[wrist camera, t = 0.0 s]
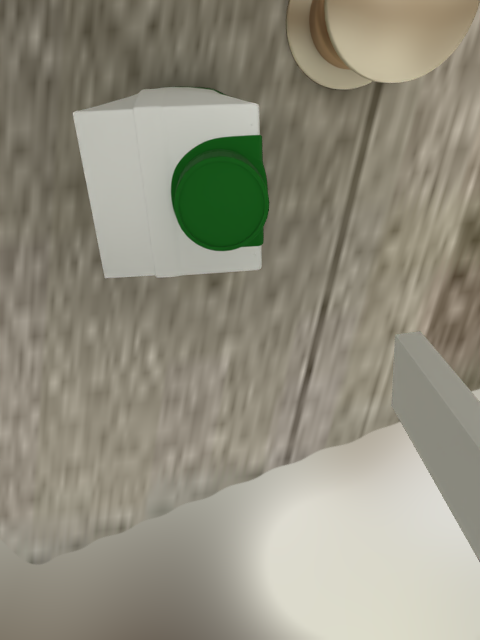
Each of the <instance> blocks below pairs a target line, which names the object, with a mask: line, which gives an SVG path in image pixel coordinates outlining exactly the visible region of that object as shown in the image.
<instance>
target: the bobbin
mask: <svg viewBox="0 0 480 640" xmlns="http://www.w3.org/2000/svg"><path fill="white" fill-rule="evenodd" d="M479 1H480V0H289V3H288V8H287V16H286V31H287V39H288V43H289V47H290V50H291V53H292V55H293V57H294V59H295V61H296V63H297V64H298V66H299V67H300V69H301V70H302V71H303V72H304V73H305V74H306V75H307V76H308V77H309V78H310V79H311V80H313V81H314V82H316V83H318V84H320V85H322V86H325V87H328V88H332V89H343V90H345V89H354V88H359V87H361V86H364V85H367V84H369V83H371V82H373V81H375V82H383V83H398V82H405V81H410V80H413V79H416V78H419V77H421V76H423V75H425V74H427V73H429V72H431V71H432V70H434V69H435V68H437V67H438V66H439V65H440V64H442V63H443V62H444V61H445V60H446V59H447V58H448V57H449V56H450V55H451V54H452V53H453V52H454V51H455V50H456V48H457V47H458V46H459V44H460V43H461V42H462V40H463V38H464V37H465V35H466V34H467V32H468V30H469V28H470V26H471V24H472V22H473V20H474V17H475V14H476V12H477V9H478V5H479Z"/></svg>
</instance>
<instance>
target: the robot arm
mask: <svg viewBox="0 0 480 640" xmlns="http://www.w3.org/2000/svg"><path fill="white" fill-rule="evenodd" d="M392 408H393V409H394V411H395V413H396V415H397V416H398V418H399V420H400V422H401V423H402V425H403V427H404V429H405V431H406V432H407V434H408V436H409V438H410V439H411V441H412V443H413V445H414V447H415V448H416V450H417V452H418V454H419V455H420V457H421V459H422V461H423V462H424V464H425V466H426V468H427V470H428V471H429V473H430V475H431V477H432V478H433V480H434V482H435V484H436V485H437V487H438V489H439V491H440V493H441V494H442V496H443V498H444V500H445V501H446V503H447V505H448V507H449V509H450V510H451V512H452V514H453V516H454V517H455V519H456V521H457V523H458V524H459V526H460V528H461V530H462V532H463V533H464V535H465V537H466V539H467V540H468V542H469V544H470V546H471V548H472V549H473V551H474V553H475V555H476V556H477V558H478V560H479V562H480V401H479V400H478V399H477V398H476V397H475V396H474V394H473V393H472V392H471V391H470V390H469V388H468V387H467V386H466V385H465V384H464V383H463V381H462V380H461V379H460V378H459V377H458V375H457V374H456V373H455V372H454V371H453V370H452V368H451V367H450V366H449V365H448V364H447V362H446V361H445V360H444V359H443V358H442V356H441V355H440V354H439V353H438V352H437V351H436V349H435V348H434V347H433V346H432V345H431V343H430V342H429V341H428V340H427V339H426V338H425V336H424V335H423V334H422V333H421V332H420V331H419V332H412V333H405V334H397V335H395V348H394V368H393V387H392Z"/></svg>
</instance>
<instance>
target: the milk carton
mask: <svg viewBox="0 0 480 640" xmlns="http://www.w3.org/2000/svg"><path fill="white" fill-rule="evenodd" d="M73 118H74V123H75V128H76V133H77V138H78V144H79V149H80V154H81V159H82V164H83V169H84V174H85V179H86V184H87V190H88V195H89V200H90V205H91V210H92V215H93V220H94V225H95V230H96V236H97V241H98V246H99V251H100V256H101V261H102V266H103V271H104V276H105V278H118V277H135V276H151V275H156V277H158V278H162V277H177V276H180V275H194V274H208V273H222V272H236V271H249V270H259V269H260V268H261V267H262V251H261V245H262V244H263V226H264V224H265V222H266V219H267V216H268V211H269V197H268V188H267V178H266V173H265V169H264V165H263V161H262V136H261V135H260V122H259V105H258V104H256V103H253V102H248V101H244V100H240V99H237V98H233V97H229V96H227V95H225V94H223V93H221V92H219V91H217V90H215V89H210V88H203V87H164V88H157V89H142V90H141V91H140V92H139V93H138V94H136V95H133V96H130V97H126V98H123V99H119V100H116V101H113V102H109V103H106V104H102V105H99V106H95V107H91V108H88V109H84V110H79V111H75V112H73Z"/></svg>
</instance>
